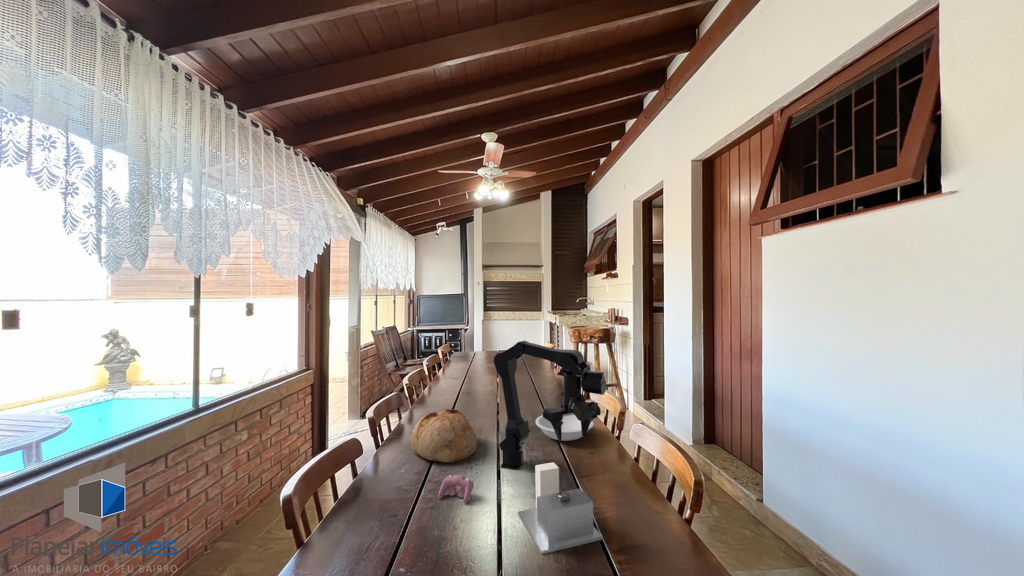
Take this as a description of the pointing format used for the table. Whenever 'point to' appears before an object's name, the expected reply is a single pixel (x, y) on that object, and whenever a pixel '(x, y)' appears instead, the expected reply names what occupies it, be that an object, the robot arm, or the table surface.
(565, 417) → the soup bowl
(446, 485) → the video game controller
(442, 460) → the bread
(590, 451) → the table surface
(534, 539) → the mount
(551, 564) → the table surface
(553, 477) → the white rectangular block
